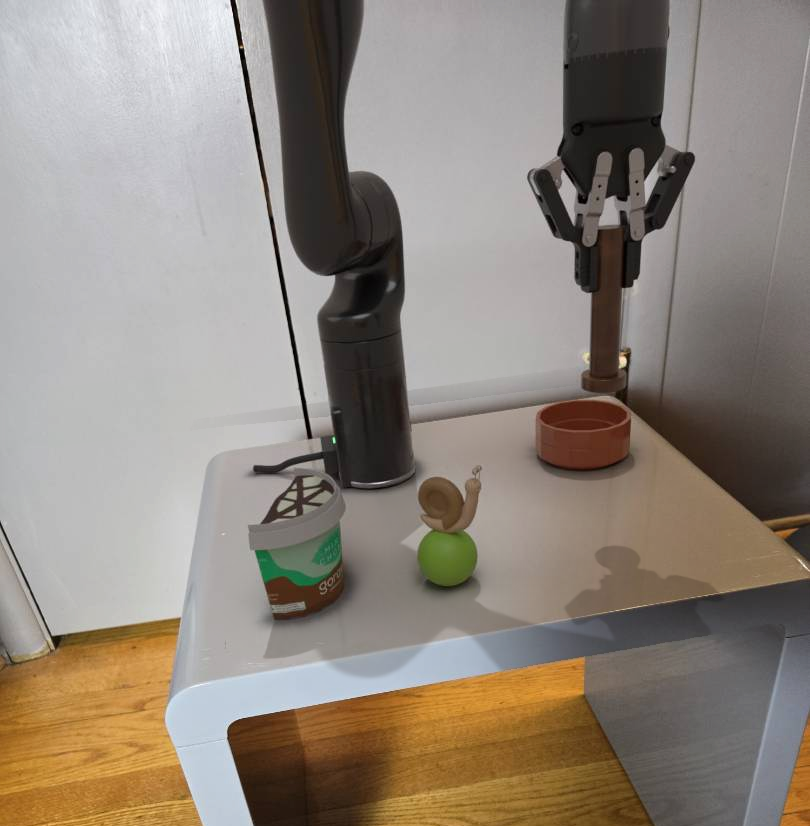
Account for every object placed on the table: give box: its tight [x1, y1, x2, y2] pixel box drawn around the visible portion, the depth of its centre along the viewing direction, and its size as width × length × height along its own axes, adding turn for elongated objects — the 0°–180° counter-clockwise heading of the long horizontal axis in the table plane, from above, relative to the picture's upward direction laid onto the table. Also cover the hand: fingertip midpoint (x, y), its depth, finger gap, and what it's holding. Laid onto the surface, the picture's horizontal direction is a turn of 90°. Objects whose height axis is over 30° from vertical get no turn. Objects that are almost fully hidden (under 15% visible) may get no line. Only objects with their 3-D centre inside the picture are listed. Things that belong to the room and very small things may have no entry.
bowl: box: [535, 399, 632, 470], centre depth 89 cm, size 11×11×5 cm
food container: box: [247, 467, 347, 620], centre depth 66 cm, size 12×6×10 cm, turn 168°
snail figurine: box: [416, 464, 483, 587], centre depth 65 cm, size 5×6×12 cm
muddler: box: [580, 224, 628, 394], centre depth 64 cm, size 4×4×14 cm
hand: (606, 287), depth 63 cm, fingers closed on muddler, 2 cm apart
